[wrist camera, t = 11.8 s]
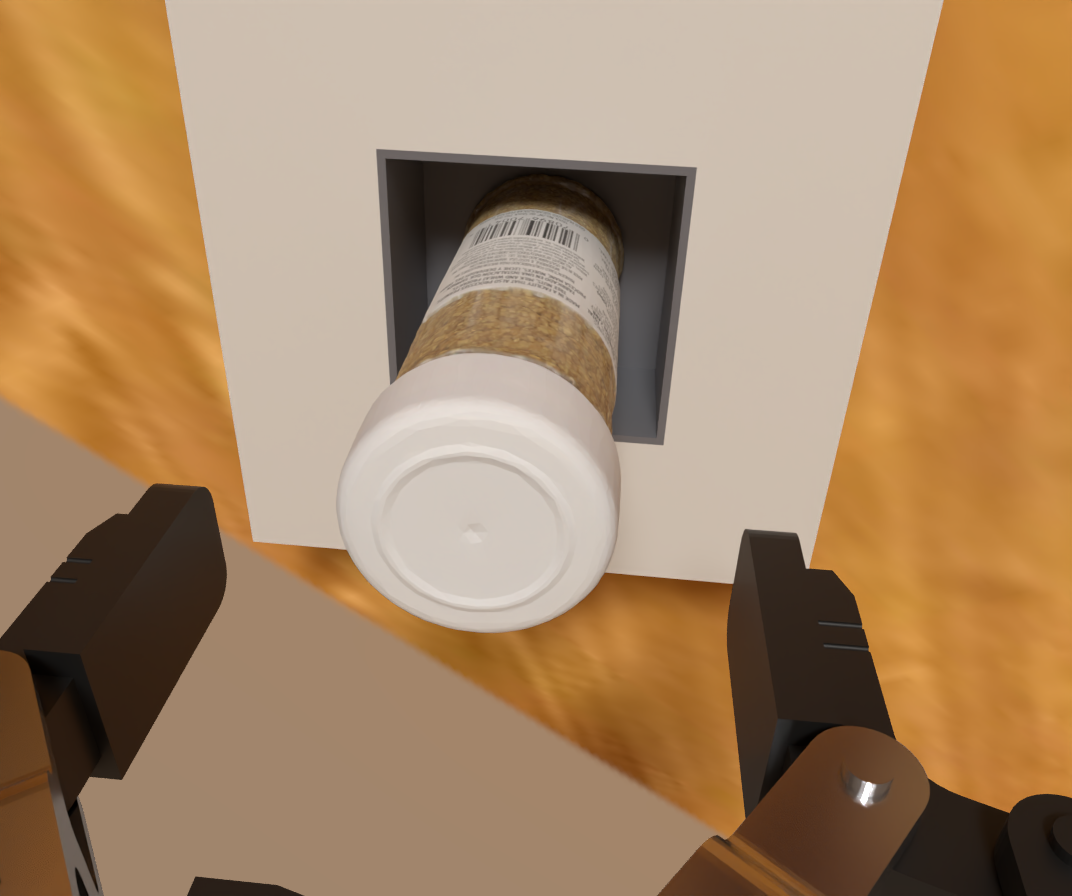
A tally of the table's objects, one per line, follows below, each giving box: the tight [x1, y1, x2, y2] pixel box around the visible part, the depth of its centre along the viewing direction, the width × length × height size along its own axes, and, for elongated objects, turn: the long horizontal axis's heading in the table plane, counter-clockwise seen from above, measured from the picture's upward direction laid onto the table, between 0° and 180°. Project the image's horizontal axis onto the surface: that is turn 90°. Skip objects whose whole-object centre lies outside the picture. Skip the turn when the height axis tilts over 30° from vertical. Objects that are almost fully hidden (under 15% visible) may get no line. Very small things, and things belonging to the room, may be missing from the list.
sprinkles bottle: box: [336, 174, 624, 633], centre depth 20 cm, size 5×5×14 cm
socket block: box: [165, 0, 943, 584], centre depth 25 cm, size 16×16×5 cm
